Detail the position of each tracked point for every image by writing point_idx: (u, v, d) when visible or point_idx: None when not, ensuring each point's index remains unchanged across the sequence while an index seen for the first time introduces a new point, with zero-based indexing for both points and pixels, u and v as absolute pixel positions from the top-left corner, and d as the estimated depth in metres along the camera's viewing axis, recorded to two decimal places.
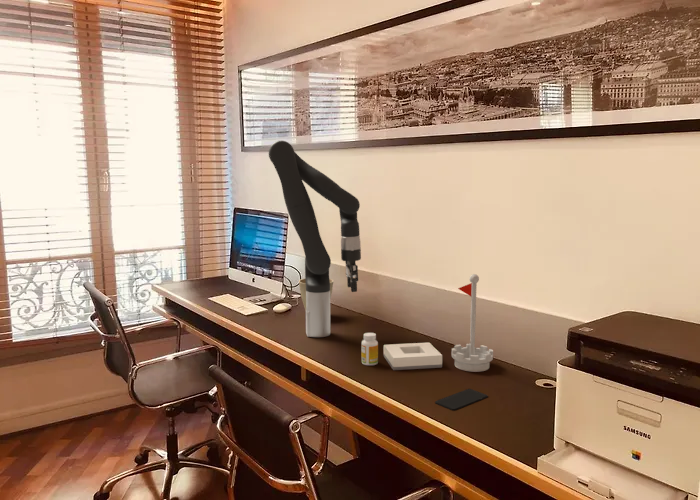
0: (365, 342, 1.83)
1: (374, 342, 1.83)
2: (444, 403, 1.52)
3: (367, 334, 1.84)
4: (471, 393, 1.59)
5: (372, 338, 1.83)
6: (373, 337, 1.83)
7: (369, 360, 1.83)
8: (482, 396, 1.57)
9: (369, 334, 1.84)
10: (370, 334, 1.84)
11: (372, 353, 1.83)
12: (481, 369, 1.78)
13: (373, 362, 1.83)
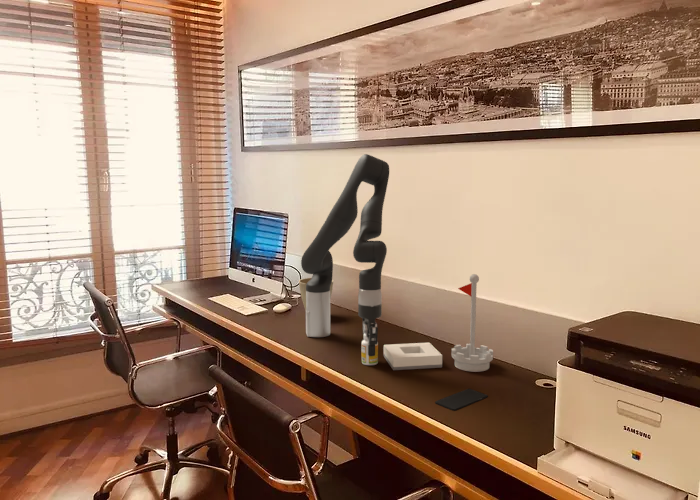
0: (365, 342, 1.83)
1: None
2: (444, 403, 1.52)
3: None
4: (471, 393, 1.59)
5: (372, 338, 1.83)
6: None
7: (369, 360, 1.83)
8: (482, 396, 1.57)
9: None
10: None
11: None
12: (481, 369, 1.78)
13: (373, 362, 1.83)
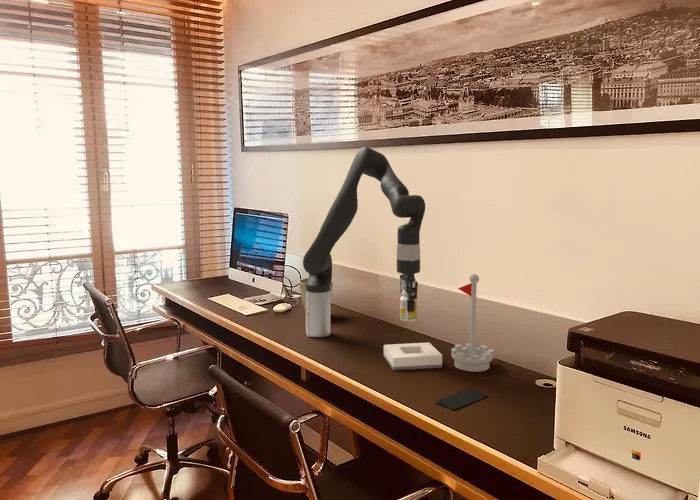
0: (404, 298, 1.82)
1: None
2: (444, 403, 1.52)
3: None
4: (471, 393, 1.59)
5: (411, 294, 1.82)
6: None
7: (408, 315, 1.82)
8: (482, 396, 1.57)
9: None
10: None
11: None
12: (481, 369, 1.78)
13: (412, 318, 1.82)
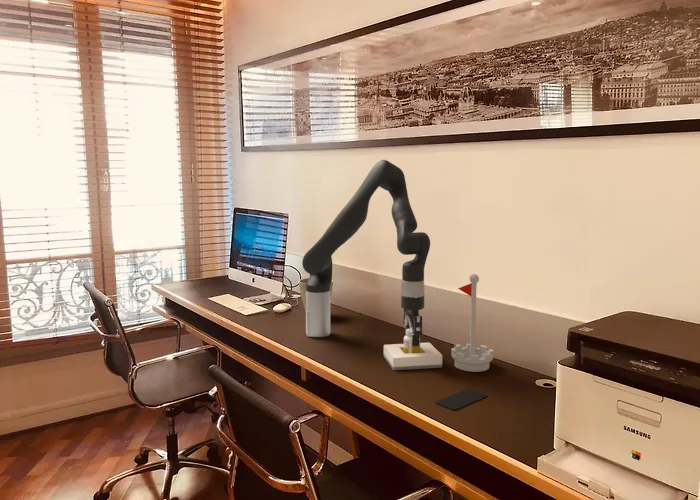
0: (408, 337, 1.84)
1: None
2: (445, 403, 1.52)
3: (409, 329, 1.85)
4: (471, 393, 1.59)
5: None
6: None
7: None
8: (482, 396, 1.57)
9: (411, 330, 1.85)
10: None
11: (414, 349, 1.84)
12: (481, 369, 1.78)
13: None
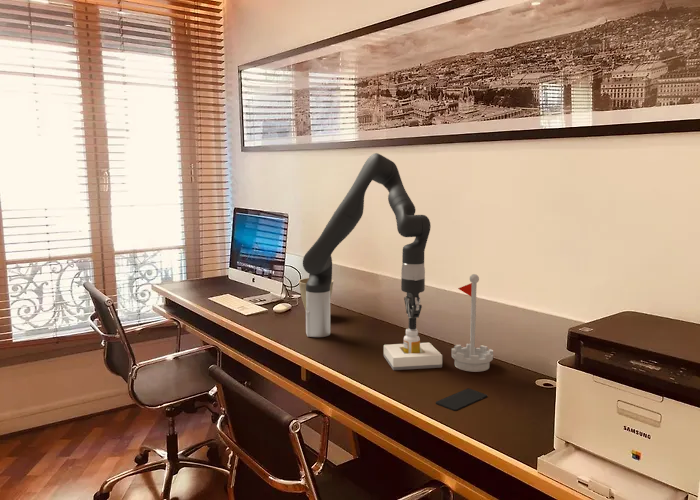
0: (407, 337, 1.84)
1: (416, 337, 1.84)
2: (445, 403, 1.52)
3: (409, 329, 1.86)
4: (470, 393, 1.59)
5: (414, 334, 1.84)
6: (415, 333, 1.84)
7: None
8: (482, 396, 1.57)
9: (411, 330, 1.85)
10: (412, 330, 1.85)
11: (414, 349, 1.84)
12: (481, 369, 1.78)
13: None
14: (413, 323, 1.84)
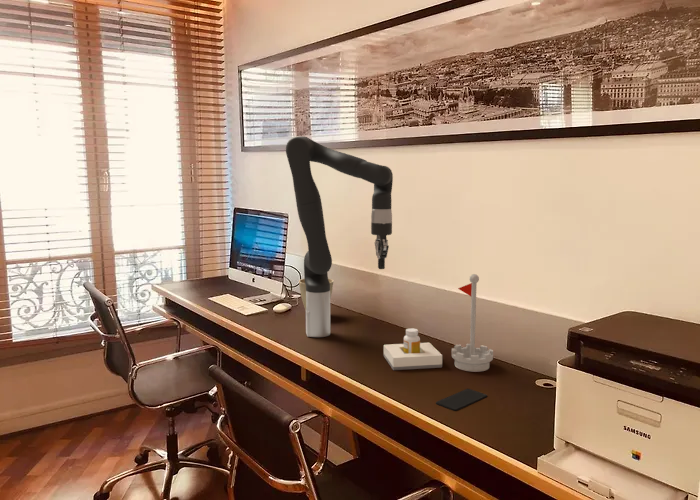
0: (408, 337, 1.84)
1: (416, 338, 1.84)
2: (445, 403, 1.52)
3: (409, 329, 1.86)
4: (470, 393, 1.59)
5: (414, 334, 1.84)
6: (415, 333, 1.84)
7: None
8: (482, 396, 1.57)
9: (411, 330, 1.85)
10: (412, 330, 1.85)
11: (414, 349, 1.84)
12: (481, 369, 1.78)
13: None
14: None
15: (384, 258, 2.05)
